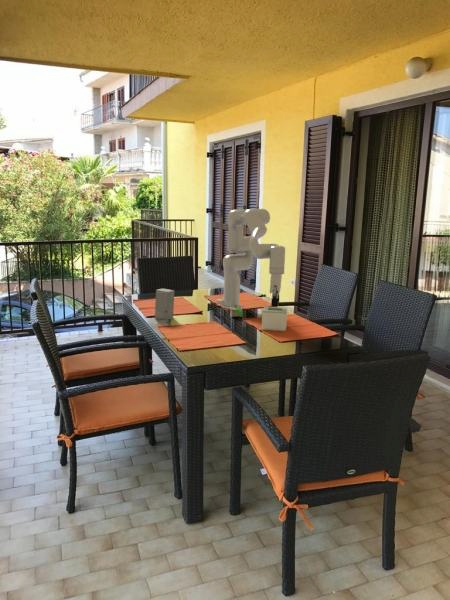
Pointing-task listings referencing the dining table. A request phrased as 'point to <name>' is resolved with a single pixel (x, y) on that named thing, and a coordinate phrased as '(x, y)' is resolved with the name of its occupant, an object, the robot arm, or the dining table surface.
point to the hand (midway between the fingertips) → (275, 304)
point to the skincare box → (164, 304)
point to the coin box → (274, 318)
